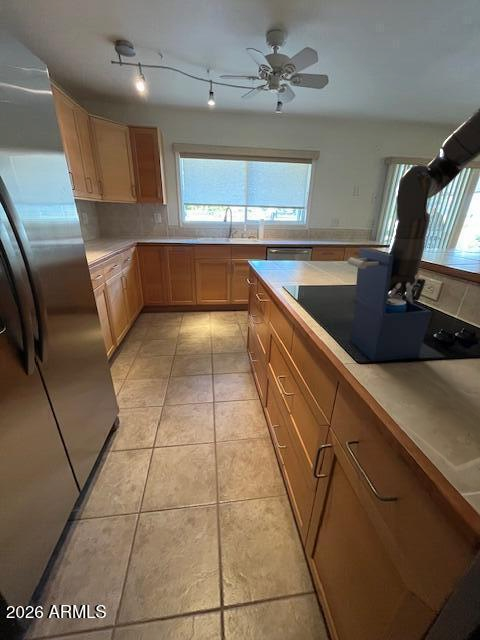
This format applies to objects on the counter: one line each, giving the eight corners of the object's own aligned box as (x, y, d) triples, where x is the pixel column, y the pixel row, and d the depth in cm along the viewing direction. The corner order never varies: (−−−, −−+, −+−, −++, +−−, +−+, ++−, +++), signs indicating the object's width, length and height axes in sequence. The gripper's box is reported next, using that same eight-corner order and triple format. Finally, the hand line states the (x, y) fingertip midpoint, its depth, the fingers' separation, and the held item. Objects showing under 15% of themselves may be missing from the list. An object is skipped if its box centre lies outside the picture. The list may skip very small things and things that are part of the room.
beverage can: (368, 336, 79) (375, 298, 74) (385, 333, 80) (393, 296, 75) (385, 346, 73) (394, 306, 68) (403, 342, 75) (413, 303, 70)
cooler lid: (362, 247, 71) (341, 250, 71) (393, 255, 60) (369, 258, 59) (358, 297, 77) (338, 299, 77) (385, 312, 66) (362, 316, 65)
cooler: (389, 336, 84) (398, 296, 79) (418, 357, 73) (431, 311, 67) (349, 340, 83) (356, 299, 77) (373, 361, 71) (383, 315, 66)
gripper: (388, 259, 63) (375, 322, 69) (442, 256, 64) (424, 318, 71) (369, 254, 69) (359, 312, 76) (419, 251, 71) (404, 309, 78)
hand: (391, 315), depth 73 cm, fingers closed on beverage can, 6 cm apart
